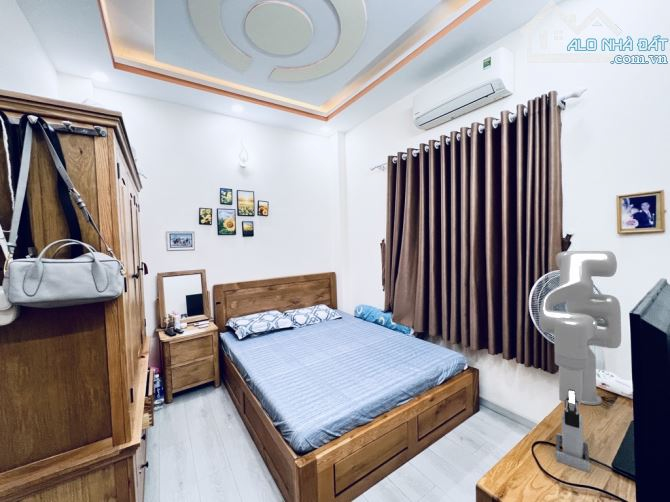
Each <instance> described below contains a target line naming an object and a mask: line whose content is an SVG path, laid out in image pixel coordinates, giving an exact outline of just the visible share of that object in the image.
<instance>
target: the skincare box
mask: <svg viewBox="0 0 670 502" xmlns="http://www.w3.org/2000/svg"><path fill="white" fill-rule="evenodd" d="M565 410H566V409H564V411H563V412H562V415H561V434H562V442H563V444H562V453H565V454H568V455H571V456H574V457H577V458H580V459H583V460H584V458H585V456H584V449H583V441H584V434H583V433H584V430H583V428H584V427H583V415H582V414H581V413H579V428H576V427H572V426H569V425H566V424H565Z"/></svg>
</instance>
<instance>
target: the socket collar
mask: <svg viewBox="0 0 670 502" xmlns="http://www.w3.org/2000/svg"><path fill="white" fill-rule="evenodd" d="M555 435H556V437H555V461H556V462H560V463H562V464H564V465H568V466H569V467H573V468H576V469H579V470H581V471H584V472H587V473H591V463H590V461H591V460H590V454H589V447H588V441H584V440H583V449H584V458H583V459H580V458H577V457H574V456H571V455H568V454H565V453H563V451H561V449H560V448H561V447H560V444H561V445H563V442H562V433H558V432H556V434H555Z"/></svg>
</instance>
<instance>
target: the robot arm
mask: <svg viewBox="0 0 670 502" xmlns="http://www.w3.org/2000/svg"><path fill="white" fill-rule="evenodd" d="M555 262H556V265H557V267H558V270H559V280H558V281H559V284H558V285H557V287H554V288H553V289H552V290H550V291H548V293H547V294H546V295H544V297H543V298H542V300H541V303H540V307H539V315H538V326H539V328H540V329H541V331H543V332H544V333H547V334H552V335H554V336H553V337H554V338H553V339H554V341H553V342H554V364H555V365H557V366H558V394H559V395H558V397H559V398H558V399H559V401H560V402H564V408H565V409H564V410H565V424H566V425H569V426H572V427H576V428H579V414H580V413H579V406H581V405H588V406H598V405H600V404H601V405H602V403H603V402H602V397H601V396H599V395H598V394H597V358H596V355H595V353H594V351H593V350H592V349H591V348H590V347H589V346H594V347H599V348H600V347H601V348H607V349H618V348H619V347H620V346H621V343H622V316H621V315H622V312H621V303H620V301H619V299H618V298H617V297H616V296H614V295H611V294H604V293H603V294H602V293H595V292H594V281H593V279H592V277H599V278H600V277H603V278H611V277H614V275H615V274H616V273H617V269H618V262H617V257H616V255H615V254H614V252H612V251H611V250H569V251H568V250H567V251H560V252H559V253H556V255H555ZM562 303H565V308H566V311H562V310H561V311H560V310H553V308H554V307H555V306H557V305H560V304H562ZM596 319H599V320H603V321H597V320H596Z"/></svg>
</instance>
